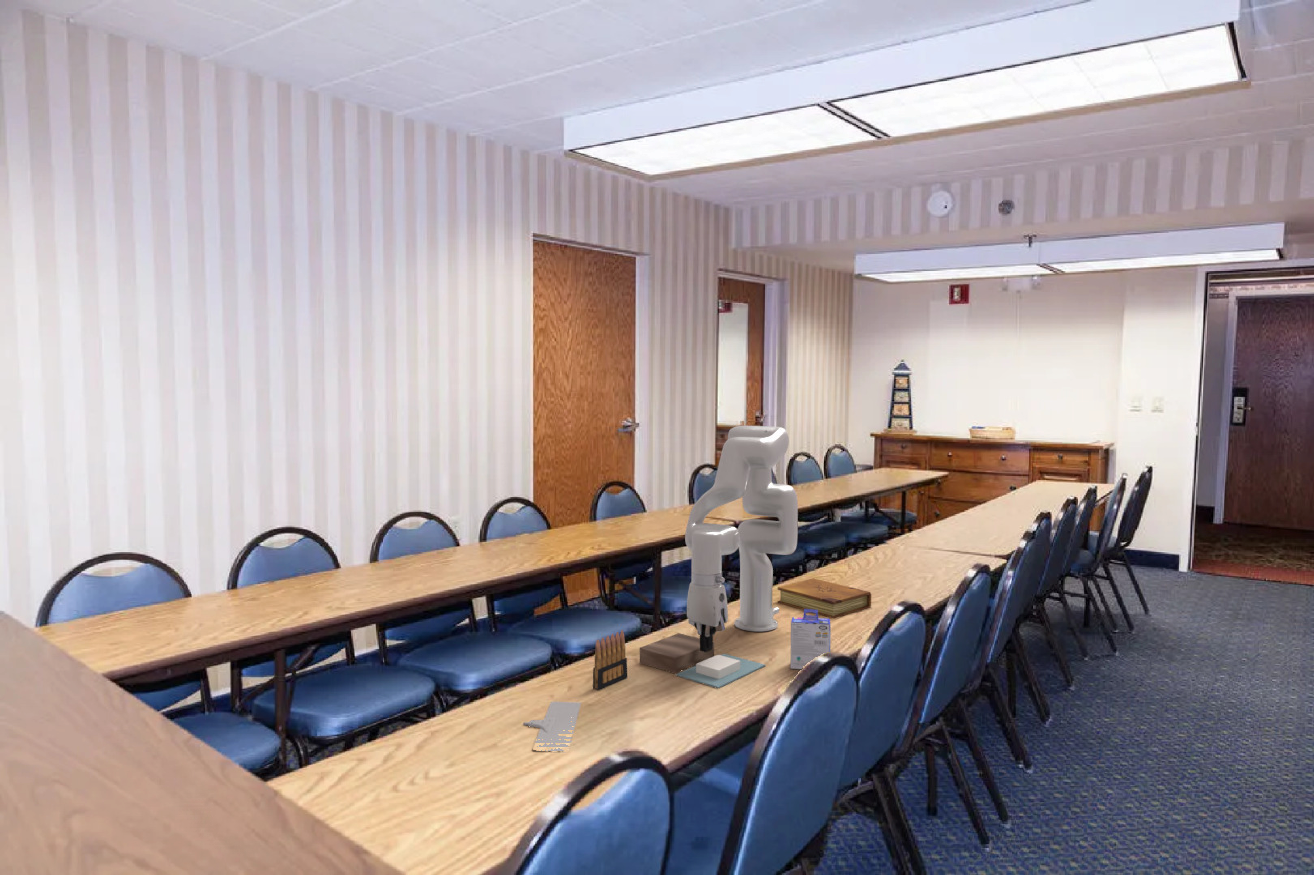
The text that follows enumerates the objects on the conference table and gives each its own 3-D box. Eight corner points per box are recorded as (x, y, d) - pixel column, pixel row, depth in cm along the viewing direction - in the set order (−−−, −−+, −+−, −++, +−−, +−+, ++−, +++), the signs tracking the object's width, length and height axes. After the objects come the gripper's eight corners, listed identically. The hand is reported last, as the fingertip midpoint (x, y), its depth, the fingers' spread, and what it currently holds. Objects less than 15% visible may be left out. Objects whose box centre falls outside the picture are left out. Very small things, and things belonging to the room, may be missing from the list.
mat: (723, 655, 222) (723, 653, 222) (765, 666, 213) (765, 664, 213) (676, 675, 207) (676, 674, 207) (718, 688, 198) (718, 687, 198)
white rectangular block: (740, 660, 210) (740, 669, 210) (718, 654, 214) (718, 663, 215) (718, 670, 203) (718, 679, 203) (696, 663, 208) (696, 672, 208)
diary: (871, 609, 267) (871, 591, 266) (833, 620, 255) (834, 601, 255) (814, 594, 285) (815, 577, 284) (777, 603, 273) (777, 586, 272)
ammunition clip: (621, 676, 207) (621, 628, 206) (627, 677, 206) (627, 630, 205) (592, 689, 198) (592, 639, 197) (598, 690, 197) (598, 641, 196)
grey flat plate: (533, 703, 190) (534, 698, 190) (637, 707, 190) (637, 702, 190) (511, 753, 166) (511, 747, 165) (630, 757, 165) (630, 752, 165)
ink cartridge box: (830, 664, 215) (830, 609, 213) (830, 672, 209) (831, 615, 208) (791, 662, 216) (791, 607, 215) (790, 669, 211) (790, 613, 210)
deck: (678, 647, 228) (678, 633, 228) (714, 657, 220) (714, 642, 220) (639, 662, 216) (639, 647, 216) (675, 673, 208) (675, 658, 208)
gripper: (739, 580, 208) (739, 653, 209) (692, 571, 218) (692, 640, 219) (721, 586, 202) (721, 660, 204) (674, 577, 212) (674, 647, 214)
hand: (706, 650), depth 211 cm, fingers closed
